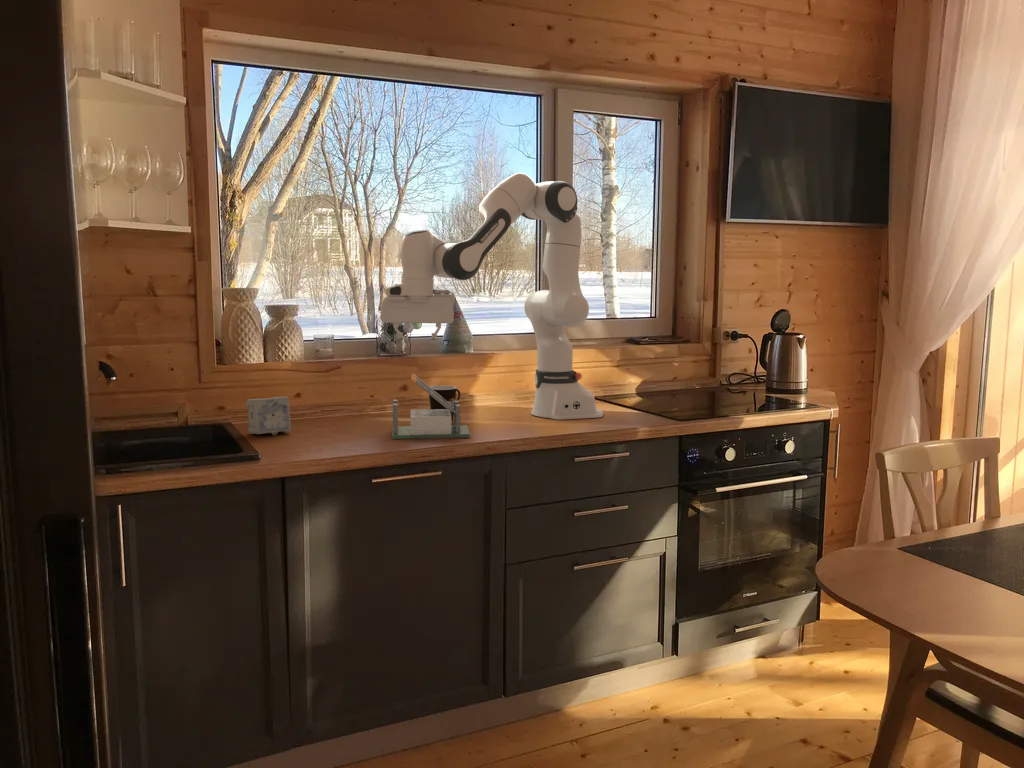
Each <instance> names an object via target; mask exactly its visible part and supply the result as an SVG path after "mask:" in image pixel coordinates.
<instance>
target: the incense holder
mask: <svg viewBox="0 0 1024 768" xmlns="http://www.w3.org/2000/svg"><path fill="white" fill-rule="evenodd" d="M289 402H290V400H289V396H275V397H269V398H267V397H266V398H251V399H249V398H248V399H246V402H245V403H246V404H245V406H246V408H247V417H248V434H250V435H251V434H252V435H253V434H255V435H262V434H271V435H272V436H277V434H278V433H280V432H289V431H292V430H291V429H292V425H291V424H292V423H291V415H290V405H289Z"/></svg>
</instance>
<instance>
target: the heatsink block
mask: <svg viewBox="0 0 1024 768" xmlns="http://www.w3.org/2000/svg"><path fill="white" fill-rule="evenodd" d="M398 401H399V400H398V399H393V401H392V432H391V433H392V434H391V436H392V437H391V439H392V440H406V439H407V440H409V439H410V440H411V439H416V440H417V439H419V438H420V439H462V438H463V439H464V438H465V439H468V438H471V433H470V431H469V428H468V425H467V424H465V425H464V424H463V425H461V405H460V402H459V400H458V401H456V400H455V401H454V406H452V408H453V413H454V417H453V424H454V425H452V421H451V413H450V411H449V410H448V409H431V408H430V409H410V425H403V426H399V409H398V408H399V402H398ZM420 439H419V440H420Z"/></svg>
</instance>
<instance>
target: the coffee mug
mask: <svg viewBox="0 0 1024 768" xmlns="http://www.w3.org/2000/svg"><path fill="white" fill-rule="evenodd" d="M429 387H430V388H432V389H433V390H434V391H435V392H437V393H438V394H439V395H440V396H441V397H443V398H444V399H445V400H446V401H448V402H449V403H450V404H451V405H452V406H454V401H458V402H459V401H460V398H461V391H460V390H459V389H457V386H454V385H442V384H441V385H432V386H430V385H429ZM457 393H458V397H457ZM428 398H429V406H430V409H447V408H445V407H444V406H443V405H442V404H440V403H439V402H438V401H437V400H436V399H434V398H433V397H432V396H431V395H429V394H428ZM450 413H451V422H454V413H453V412H450Z"/></svg>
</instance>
